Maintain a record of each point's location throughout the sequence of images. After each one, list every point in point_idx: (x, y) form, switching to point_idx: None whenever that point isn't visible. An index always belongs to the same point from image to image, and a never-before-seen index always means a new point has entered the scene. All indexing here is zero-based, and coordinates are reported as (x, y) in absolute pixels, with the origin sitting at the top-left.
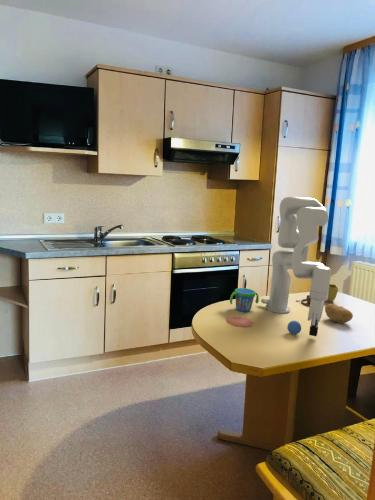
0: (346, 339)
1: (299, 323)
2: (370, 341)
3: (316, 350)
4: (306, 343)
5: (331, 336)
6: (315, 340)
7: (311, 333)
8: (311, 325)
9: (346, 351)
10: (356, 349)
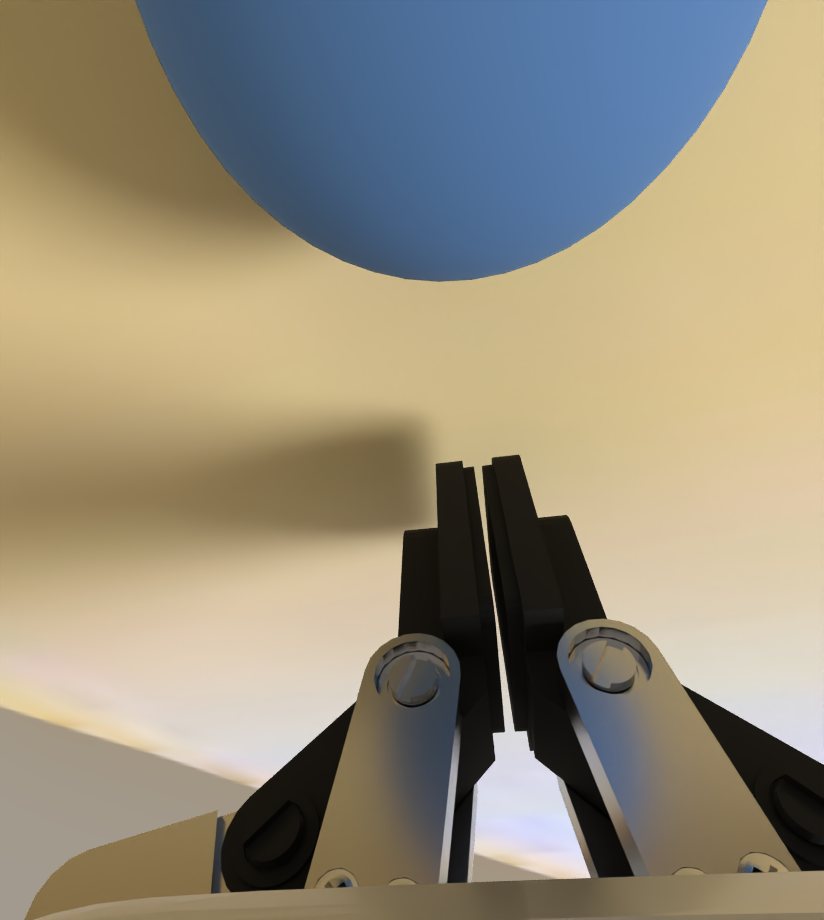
0: None
1: (508, 201)
2: None
3: (39, 617)
4: (140, 458)
5: (752, 657)
6: None
7: (404, 538)
8: (363, 709)
9: None
10: None
